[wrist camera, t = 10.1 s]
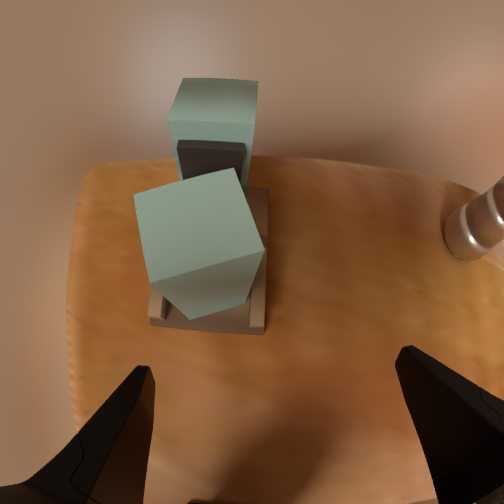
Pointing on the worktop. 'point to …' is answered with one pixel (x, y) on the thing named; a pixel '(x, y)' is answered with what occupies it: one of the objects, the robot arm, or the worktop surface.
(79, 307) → the worktop surface
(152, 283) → the block
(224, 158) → the green block with base
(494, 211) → the plastic bottle
